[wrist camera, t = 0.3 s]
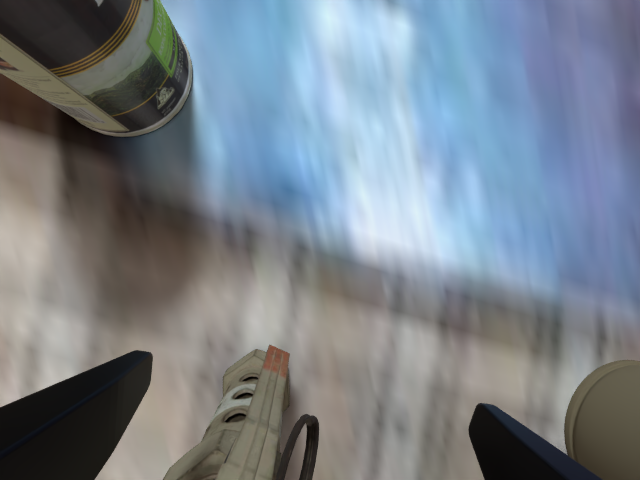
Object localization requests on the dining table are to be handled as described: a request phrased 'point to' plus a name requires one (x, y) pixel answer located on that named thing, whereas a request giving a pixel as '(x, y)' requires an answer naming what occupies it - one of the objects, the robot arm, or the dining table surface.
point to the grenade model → (250, 426)
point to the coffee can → (98, 60)
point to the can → (607, 422)
